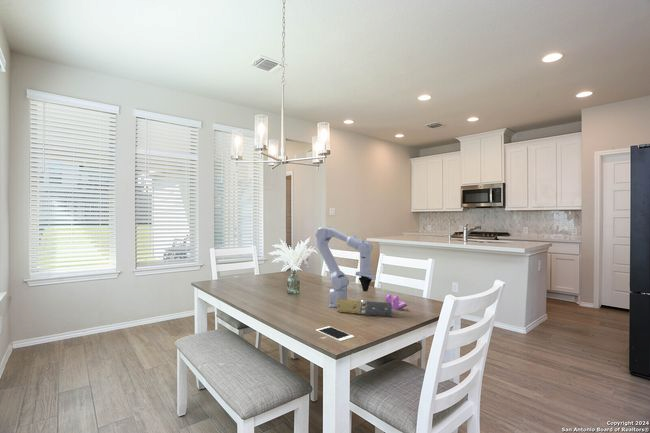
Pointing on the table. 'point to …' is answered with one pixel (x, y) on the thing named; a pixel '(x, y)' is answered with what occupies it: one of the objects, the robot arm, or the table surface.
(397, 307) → the bracket
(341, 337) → the cell phone
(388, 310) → the dark grey piece
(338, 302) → the brass leaf
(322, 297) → the table surface
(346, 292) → the robot arm
